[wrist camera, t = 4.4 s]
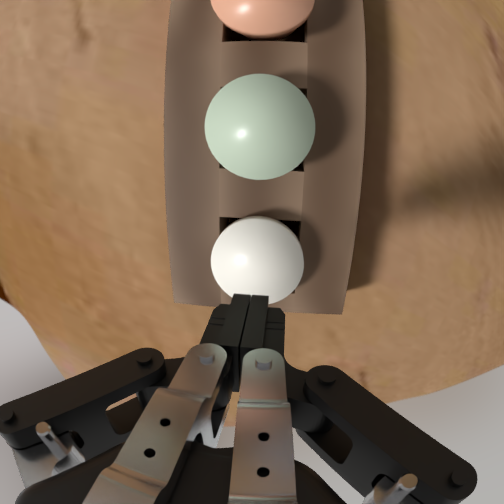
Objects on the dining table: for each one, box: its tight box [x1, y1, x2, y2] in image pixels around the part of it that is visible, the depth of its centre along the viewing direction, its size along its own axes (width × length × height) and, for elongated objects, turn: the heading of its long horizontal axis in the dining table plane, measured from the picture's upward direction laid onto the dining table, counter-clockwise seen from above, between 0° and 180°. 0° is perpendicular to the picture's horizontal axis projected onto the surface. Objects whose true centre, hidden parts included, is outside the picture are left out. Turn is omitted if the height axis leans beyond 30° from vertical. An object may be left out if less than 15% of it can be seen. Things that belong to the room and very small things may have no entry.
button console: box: [164, 0, 366, 314], centre depth 18 cm, size 12×24×3 cm, turn 179°
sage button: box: [205, 74, 315, 180], centre depth 16 cm, size 6×6×3 cm
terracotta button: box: [211, 0, 315, 41], centre depth 13 cm, size 6×6×3 cm
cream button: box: [211, 216, 304, 304], centre depth 19 cm, size 6×6×3 cm
